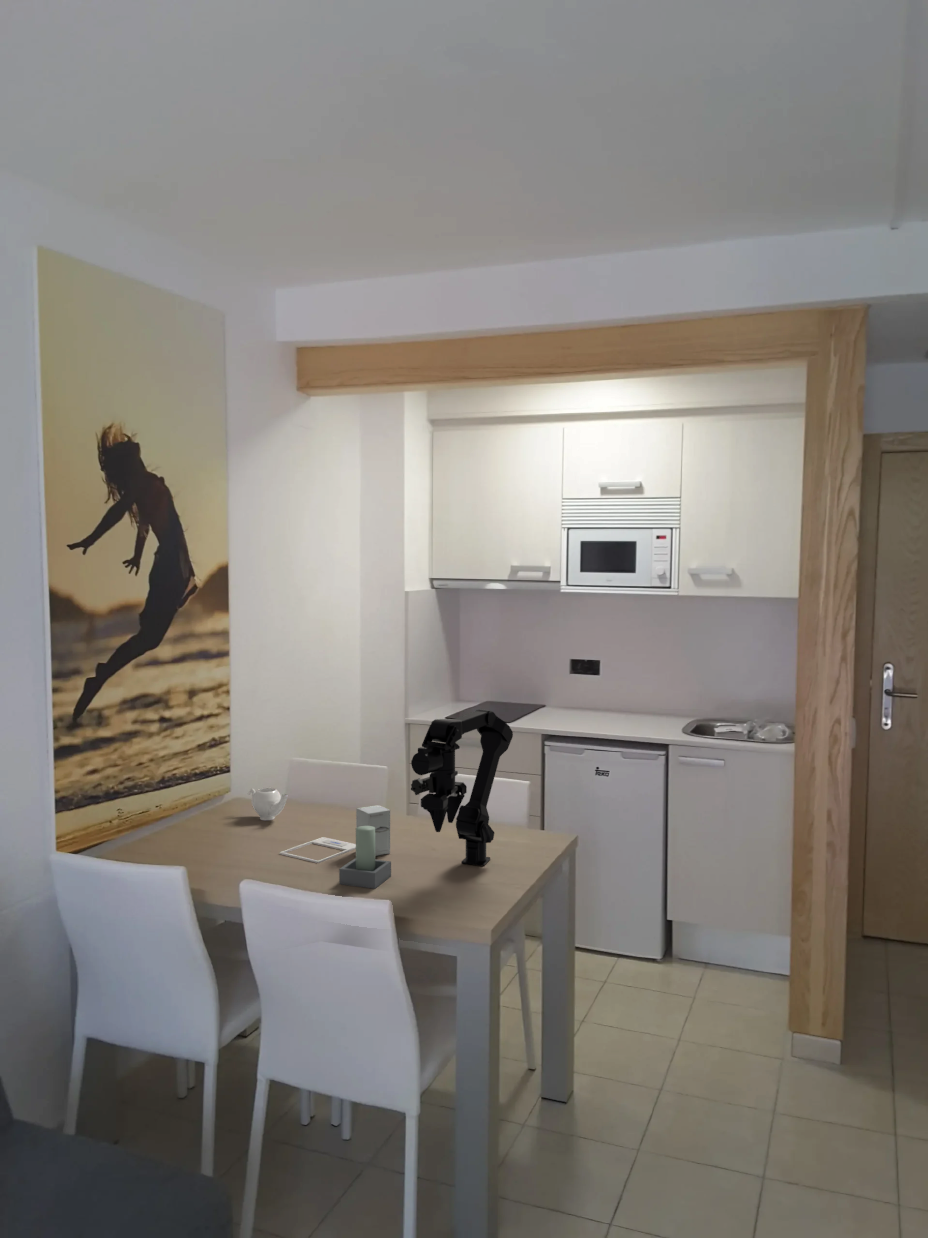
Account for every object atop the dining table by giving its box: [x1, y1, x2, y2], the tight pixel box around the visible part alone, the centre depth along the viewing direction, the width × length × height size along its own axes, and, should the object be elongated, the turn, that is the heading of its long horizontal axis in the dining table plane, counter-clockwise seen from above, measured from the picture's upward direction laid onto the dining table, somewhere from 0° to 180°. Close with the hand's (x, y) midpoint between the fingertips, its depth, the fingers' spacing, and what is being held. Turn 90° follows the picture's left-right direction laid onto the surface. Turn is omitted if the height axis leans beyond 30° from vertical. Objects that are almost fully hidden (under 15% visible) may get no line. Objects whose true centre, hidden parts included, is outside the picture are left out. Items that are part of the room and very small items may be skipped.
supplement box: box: [355, 804, 391, 857], centre depth 273 cm, size 7×7×13 cm
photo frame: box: [279, 836, 356, 864], centre depth 276 cm, size 15×1×18 cm
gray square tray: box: [338, 857, 392, 890], centre depth 250 cm, size 10×10×4 cm
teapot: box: [247, 787, 289, 821], centre depth 309 cm, size 10×20×9 cm, turn 49°
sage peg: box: [355, 826, 376, 871], centre depth 250 cm, size 5×5×13 cm
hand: (444, 827), depth 253 cm, fingers open, 9 cm apart
